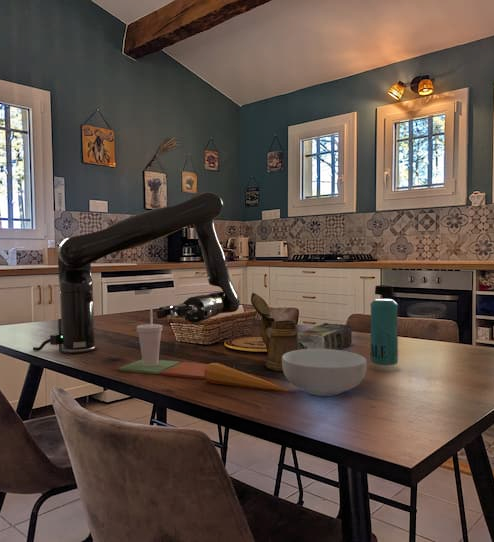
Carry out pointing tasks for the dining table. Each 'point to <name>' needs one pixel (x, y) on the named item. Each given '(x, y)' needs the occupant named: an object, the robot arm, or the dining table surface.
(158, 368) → the green mat
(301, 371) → the cereal bowl
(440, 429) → the dining table surface
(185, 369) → the terracotta mat
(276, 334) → the wooden mug
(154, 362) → the smoothie
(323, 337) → the grey patterned box
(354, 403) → the dining table surface
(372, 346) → the beverage bottle
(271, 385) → the carrot
